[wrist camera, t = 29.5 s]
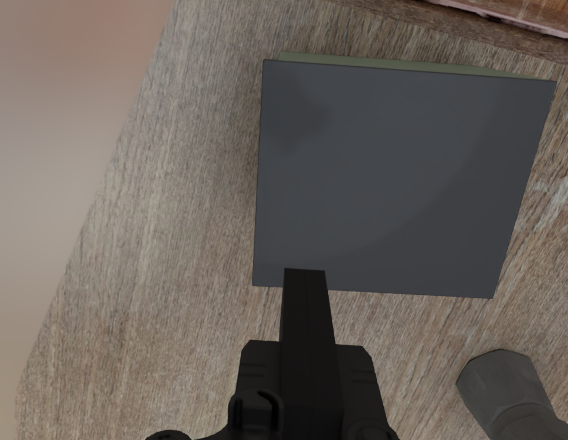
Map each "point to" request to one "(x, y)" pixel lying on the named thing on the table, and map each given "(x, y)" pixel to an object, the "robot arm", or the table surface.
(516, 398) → the coffeepot
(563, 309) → the table surface
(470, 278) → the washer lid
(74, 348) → the table surface
